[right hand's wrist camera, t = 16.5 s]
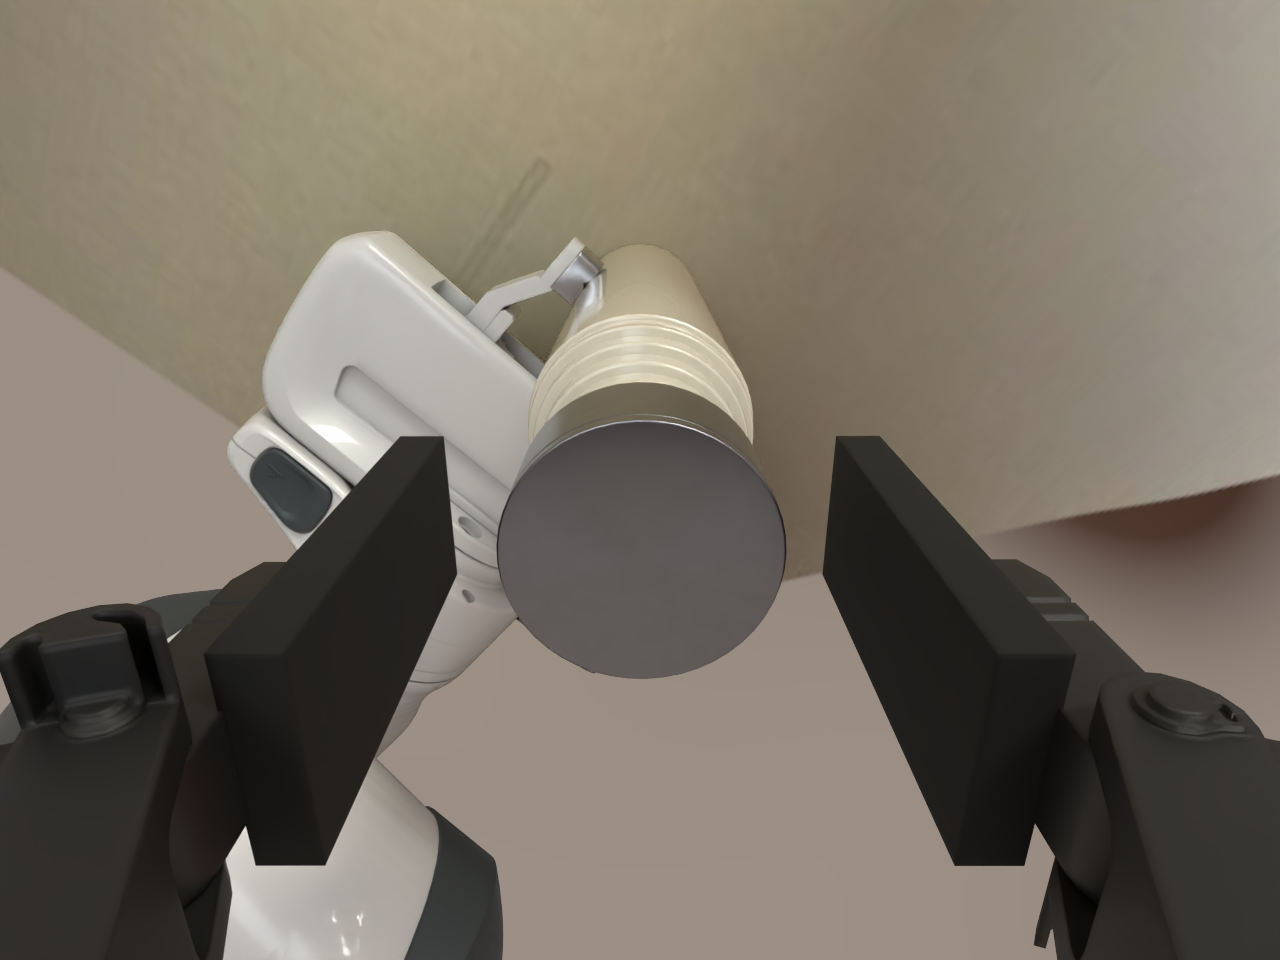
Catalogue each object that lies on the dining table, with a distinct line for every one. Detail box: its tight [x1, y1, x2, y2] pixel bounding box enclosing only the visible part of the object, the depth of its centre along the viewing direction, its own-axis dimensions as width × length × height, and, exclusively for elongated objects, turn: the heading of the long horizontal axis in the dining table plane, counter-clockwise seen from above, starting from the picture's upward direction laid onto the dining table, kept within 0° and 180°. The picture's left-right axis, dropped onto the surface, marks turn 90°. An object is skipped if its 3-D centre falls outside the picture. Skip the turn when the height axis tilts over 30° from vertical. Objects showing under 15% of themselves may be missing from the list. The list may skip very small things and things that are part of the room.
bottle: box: [528, 244, 753, 446], centre depth 24 cm, size 5×5×24 cm
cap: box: [496, 382, 786, 679], centre depth 13 cm, size 4×4×2 cm
